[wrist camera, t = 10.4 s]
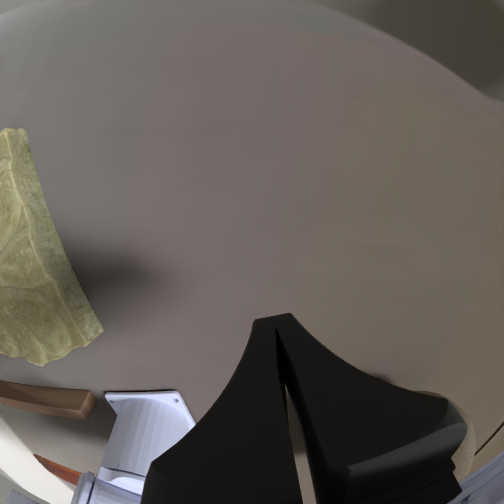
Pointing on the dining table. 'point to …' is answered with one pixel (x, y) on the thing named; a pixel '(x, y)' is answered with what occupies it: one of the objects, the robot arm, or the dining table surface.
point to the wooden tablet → (60, 470)
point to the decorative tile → (35, 267)
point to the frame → (48, 400)
